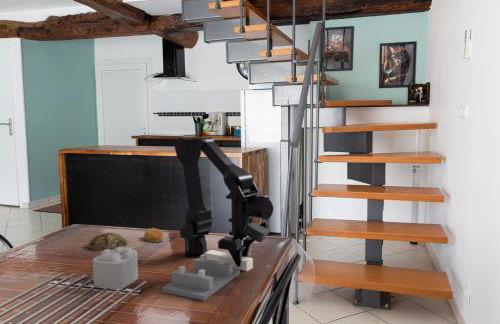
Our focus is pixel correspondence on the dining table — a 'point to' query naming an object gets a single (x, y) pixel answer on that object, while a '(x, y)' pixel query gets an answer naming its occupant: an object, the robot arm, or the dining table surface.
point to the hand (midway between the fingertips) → (241, 264)
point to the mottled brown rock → (107, 241)
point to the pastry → (153, 235)
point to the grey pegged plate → (201, 278)
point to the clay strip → (230, 259)
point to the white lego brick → (115, 268)
